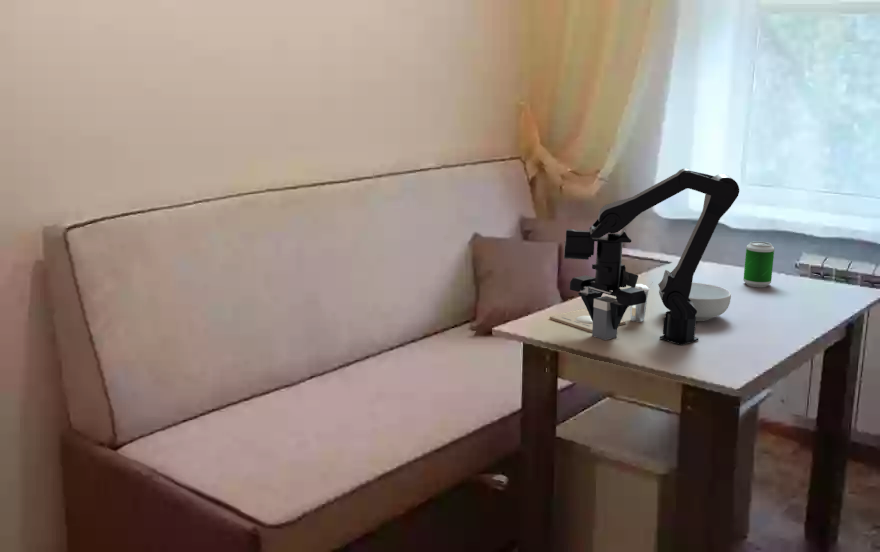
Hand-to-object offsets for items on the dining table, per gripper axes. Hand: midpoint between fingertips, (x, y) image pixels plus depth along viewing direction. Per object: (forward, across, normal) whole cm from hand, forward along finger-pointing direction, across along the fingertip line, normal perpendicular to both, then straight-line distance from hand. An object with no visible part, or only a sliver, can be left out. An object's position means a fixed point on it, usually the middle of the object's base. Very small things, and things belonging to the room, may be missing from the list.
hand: (605, 326), depth 223 cm
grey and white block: (+2, 0, 0) cm, 2 cm away
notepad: (+2, +11, -6) cm, 13 cm away
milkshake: (+3, +4, -17) cm, 18 cm away
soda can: (+3, +8, -73) cm, 73 cm away
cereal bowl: (+3, -2, -31) cm, 31 cm away
